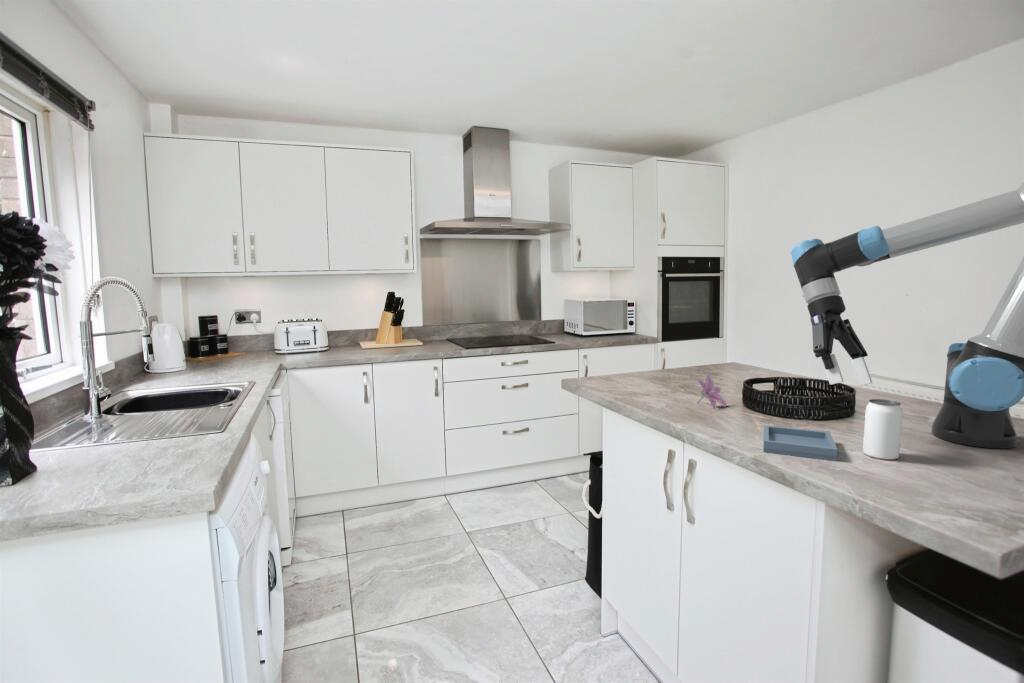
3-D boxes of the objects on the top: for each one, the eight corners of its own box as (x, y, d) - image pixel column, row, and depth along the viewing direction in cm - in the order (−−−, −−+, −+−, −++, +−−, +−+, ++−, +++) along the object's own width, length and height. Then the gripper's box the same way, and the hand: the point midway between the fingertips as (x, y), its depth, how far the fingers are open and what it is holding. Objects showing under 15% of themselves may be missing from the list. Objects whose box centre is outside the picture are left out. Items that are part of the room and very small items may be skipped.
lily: (692, 414, 151) (710, 389, 147) (676, 391, 161) (692, 367, 157) (724, 423, 154) (742, 398, 150) (706, 400, 165) (722, 376, 161)
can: (905, 461, 107) (909, 406, 106) (871, 459, 109) (875, 405, 107) (889, 451, 114) (893, 399, 112) (857, 450, 115) (860, 398, 114)
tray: (829, 442, 121) (829, 432, 120) (836, 461, 108) (837, 449, 108) (763, 435, 127) (764, 425, 126) (763, 451, 114) (764, 441, 114)
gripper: (834, 310, 134) (860, 388, 128) (780, 300, 121) (806, 386, 115) (864, 299, 128) (893, 380, 122) (811, 287, 115) (841, 378, 109)
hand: (851, 384), depth 118 cm, fingers open, 13 cm apart
